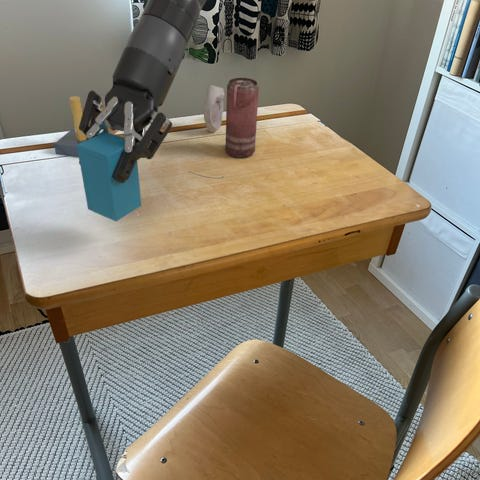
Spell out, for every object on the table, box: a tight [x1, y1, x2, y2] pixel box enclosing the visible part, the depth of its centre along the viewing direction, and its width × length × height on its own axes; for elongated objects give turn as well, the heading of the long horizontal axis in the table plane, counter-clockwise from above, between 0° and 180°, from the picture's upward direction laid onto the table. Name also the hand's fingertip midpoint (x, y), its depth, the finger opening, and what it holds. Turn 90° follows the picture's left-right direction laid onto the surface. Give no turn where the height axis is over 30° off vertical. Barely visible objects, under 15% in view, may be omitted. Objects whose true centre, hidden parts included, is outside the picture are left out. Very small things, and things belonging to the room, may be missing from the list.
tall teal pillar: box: [77, 132, 142, 222], centre depth 73 cm, size 6×6×10 cm
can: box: [224, 77, 260, 159], centre depth 101 cm, size 6×6×14 cm
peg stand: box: [53, 95, 101, 158], centre depth 101 cm, size 8×8×10 cm
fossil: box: [203, 84, 225, 133], centre depth 110 cm, size 6×4×10 cm, turn 147°
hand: (101, 173), depth 72 cm, fingers closed on tall teal pillar, 5 cm apart
